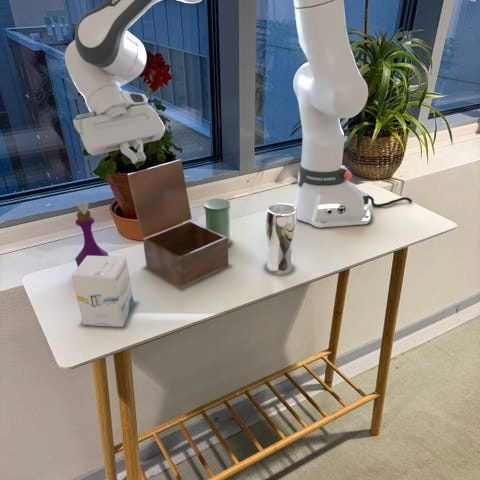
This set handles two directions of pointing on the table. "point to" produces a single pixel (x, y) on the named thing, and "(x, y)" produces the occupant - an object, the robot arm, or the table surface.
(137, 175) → the lid
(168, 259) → the box
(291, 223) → the beer glass
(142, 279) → the table surface
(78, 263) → the perfume bottle
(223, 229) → the green cylinder canister
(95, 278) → the ink box
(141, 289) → the table surface
